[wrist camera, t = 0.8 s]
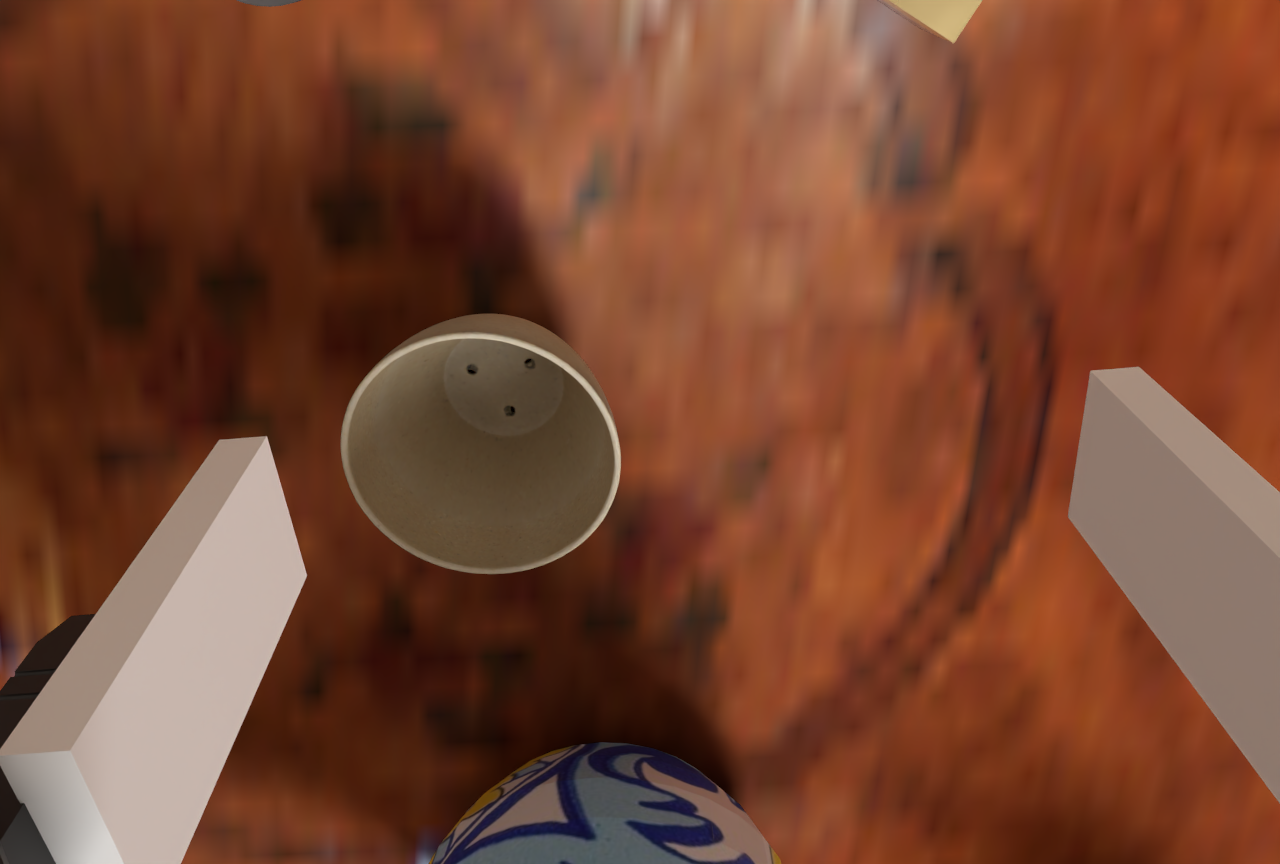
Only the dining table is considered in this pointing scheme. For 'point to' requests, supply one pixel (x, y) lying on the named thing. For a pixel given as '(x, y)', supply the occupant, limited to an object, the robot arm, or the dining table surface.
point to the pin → (268, 2)
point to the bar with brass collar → (936, 15)
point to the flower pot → (482, 446)
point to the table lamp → (605, 814)
